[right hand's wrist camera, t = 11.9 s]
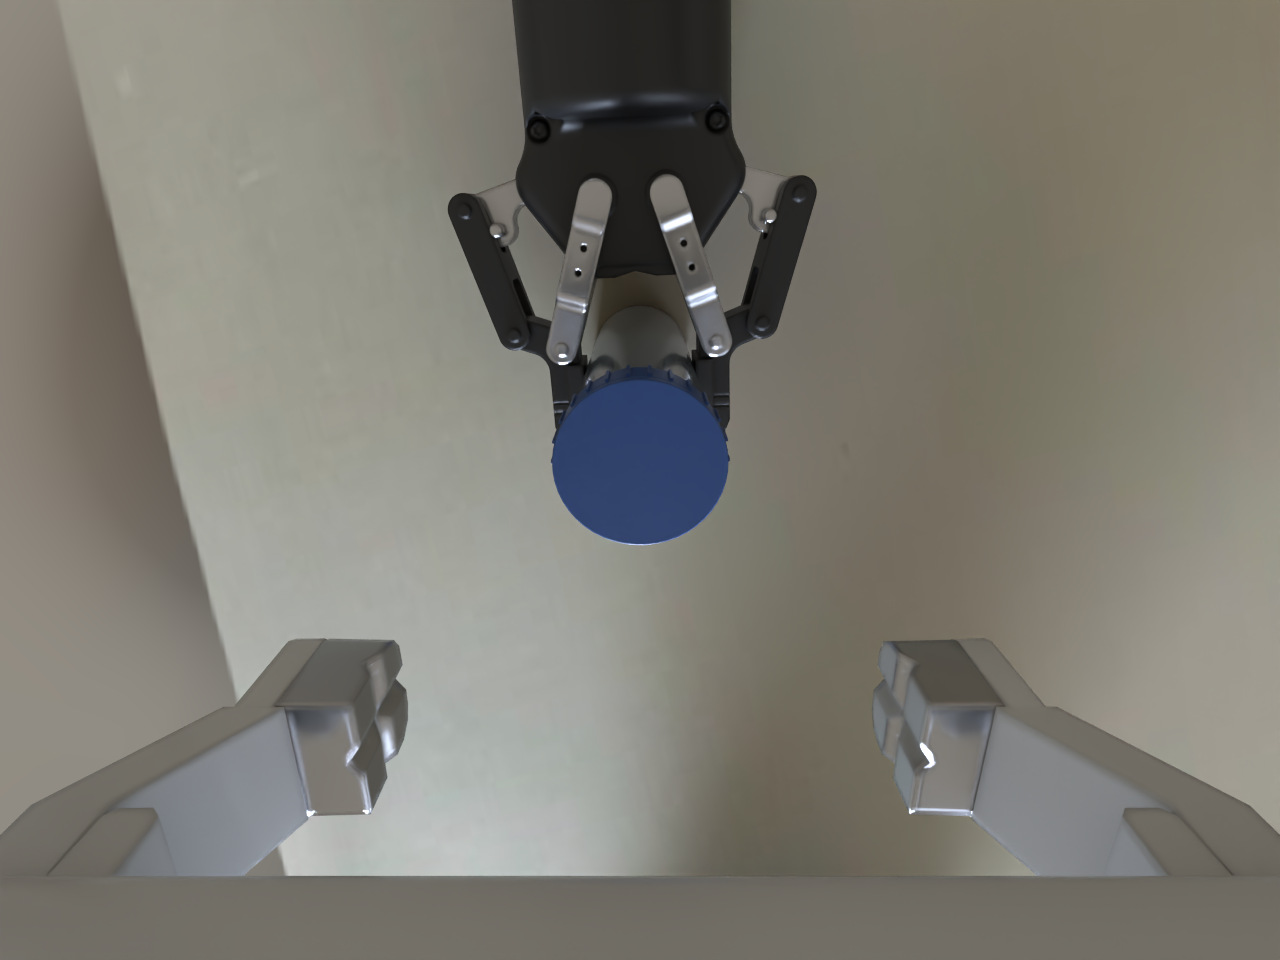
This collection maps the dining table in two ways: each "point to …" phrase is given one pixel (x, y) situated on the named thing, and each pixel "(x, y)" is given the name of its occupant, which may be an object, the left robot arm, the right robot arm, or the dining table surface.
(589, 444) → the lid
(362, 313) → the dining table surface
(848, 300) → the dining table surface
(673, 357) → the jar
